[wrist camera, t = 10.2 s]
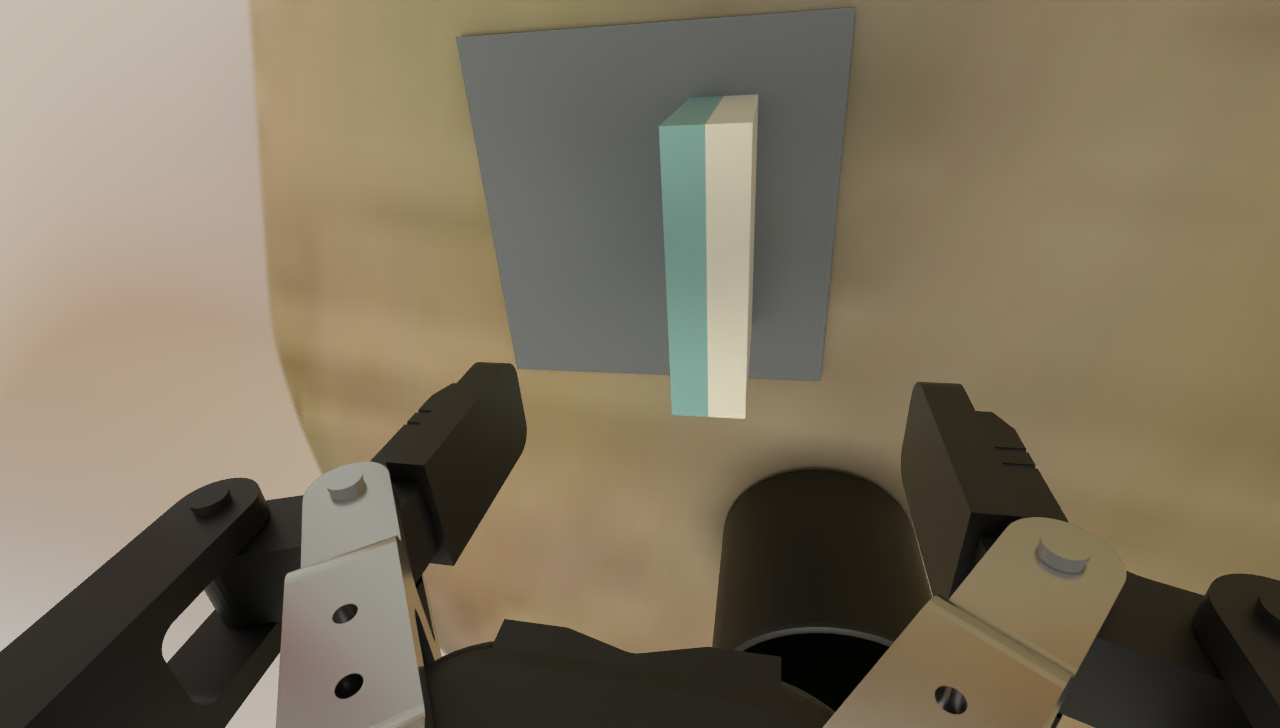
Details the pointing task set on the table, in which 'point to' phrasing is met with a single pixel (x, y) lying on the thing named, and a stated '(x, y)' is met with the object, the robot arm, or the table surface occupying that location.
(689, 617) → the table surface
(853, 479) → the mug
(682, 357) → the block
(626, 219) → the mat
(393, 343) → the table surface
